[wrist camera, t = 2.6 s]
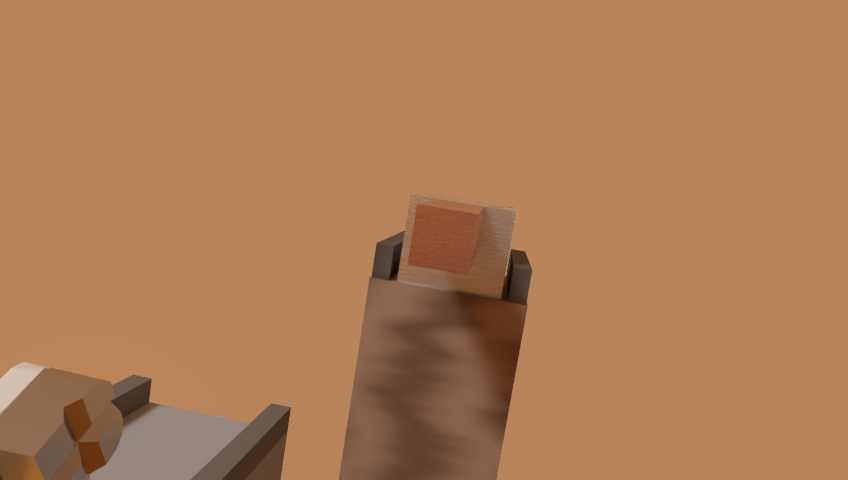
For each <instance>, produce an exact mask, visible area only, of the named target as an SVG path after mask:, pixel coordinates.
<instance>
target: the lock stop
mask: <svg viewBox="0 0 848 480" xmlns="http://www.w3.org/2000/svg"><path fill="white" fill-rule="evenodd" d="M515 214H516V211H515V209H514V208H511V207H505V206H499V205H493V204H487V203H481V202H475V201H468V200H462V199H456V198H450V197H444V196H438V195H432V194H426V193H425V194H411V195H410V202H409V208H408V214H407V221H406V227H405V233H404V239H403V246H402V252H401V258H400V265H399V271H398V277H397V281H402V282H408V283H413V284H419V285H424V286H430V287H435V288H441V289H446V290H452V291H458V292H463V293H469V294H474V295H480V296H485V297H491V298H496V299H501V295H502V289H503V283H504V277H505V272H506V266H507V260H508V255H509V249H510V243H511V237H512V232H513V226H514V221H515Z"/></svg>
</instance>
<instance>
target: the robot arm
mask: <svg viewBox="0 0 848 480" xmlns="http://www.w3.org/2000/svg"><path fill="white" fill-rule="evenodd" d="M114 395H115V392H114V390H113V387H112V385H111V382H110V381H107V380H103V379H98V378H94V377H89V376H84V375H80V374H76V373H72V372H67V371H62V370H58V369H54V368H51V367H46V366H41V365H36V364H32V363H27V362H23V363H20V364H19V365H16V366H14V367H12V368H11V369H10V370H9V371H8V372H7V373H6V374H5V375H4V376H3V377H2V378H1V379H0V480H90V474H91V473H92V472H94V471H96V470H98V469H99V468H101V467H103V466H104V465H106V464H107V463H108V461H109V460H110V458H111V457H112V455H113V454H114V452H115V451H116V449H117V447H118V444H119V441H120V438H121V436H122V433H123V418H122V415H121V411H120V410H119V409H118V408H117V407H116V406H115V405H114V404H113V403H112V402H111V401H110V400H111V399H112V397H113V396H114Z"/></svg>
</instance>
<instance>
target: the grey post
mask: <svg viewBox="0 0 848 480" xmlns="http://www.w3.org/2000/svg"><path fill="white" fill-rule="evenodd" d="M112 387H113V390H114V392H115V395H114V396H113V397H112V399H111V400H110V401H111V402H112V403H113V404H114V405H115V406H116V407H117V408H118V409H119V410H120V411H121V415H122V418H123V433H122V436H121V438H120V441H119V444H118V447H117V449H116V451H115V452H114V454H113V455H112V457H111V458H110V460H109V461H108V463H107V464H106V465H104V466H103V467H101V468H99V469H98V470H96V471H94V472H92V473H91V474H90V480H280V478H281V472H282V465H283V458H284V451H285V444H286V437H287V430H288V423H289V416H290V409H291V407H285V406H281V405H276V404H270V405H269V406H268V407H267V408H266V409H265V410H264V411H263V412H262V413H261V414H260V415H258V416H257V418H255V419H254V420H253V421H252V422H251V423H250V424H249V423H244V422H239V421H234V420H230V419H225V418H220V417H216V416H211V415H206V414H202V413H197V412H192V411H188V410H183V409H178V408H173V407H169V406H164V405H159V404H155V403H149V397H150V387H151V378H146V377H141V376H136V375H132V376H130V377H128V378H126V379H124V380H122V381H120V382H118V383H116V384H114V385H112Z"/></svg>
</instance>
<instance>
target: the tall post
mask: <svg viewBox="0 0 848 480" xmlns="http://www.w3.org/2000/svg"><path fill="white" fill-rule="evenodd" d="M404 233H405V231H403V232H401V233H399V234H396V235H394V236H392V237H389V238H387V239H385V240H383V241H381V242H378V243H377V246H376V252H375V258H374V265H373V271H372V276H371V277H370V279H369V286H368V293H367V299H366V306H365V312H364V319H363V325H362V332H361V338H360V345H359V351H358V358H357V364H356V371H355V378H354V384H353V391H352V397H351V404H350V410H349V418H348V423H347V430H346V437H345V443H344V449H343V457H342V462H341V469H340V476H339V480H496V478H497V472H498V467H499V460H500V455H501V450H502V444H503V439H504V433H505V428H506V422H507V416H508V411H509V406H510V399H511V394H512V389H513V383H514V377H515V373H516V367H517V361H518V355H519V350H520V345H521V339H522V334H523V328H524V323H525V317H526V311H527V306H528V305H527V296H528V290H529V284H530V279H531V274H532V269H531V266H530V264H529V261H528V258H527V256H526V253H525V252H524V251H518V250H513V249H511V252H510V258H509V264H508V269H507V275H506V276H505V277H504V283H503V289H502V295H501V299H496V298H491V297H485V296H480V295H474V294H469V293H463V292H458V291H452V290H446V289H441V288H435V287H430V286H424V285H419V284H413V283H408V282H402V281H397V277H398V271H399V265H400V258H401V252H402V246H403V239H404Z"/></svg>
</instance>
